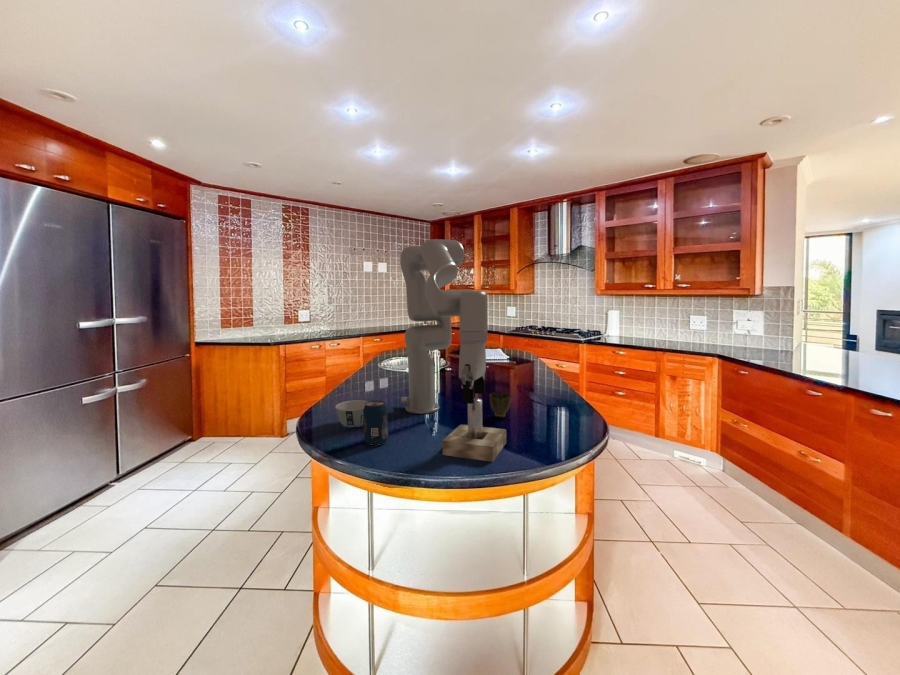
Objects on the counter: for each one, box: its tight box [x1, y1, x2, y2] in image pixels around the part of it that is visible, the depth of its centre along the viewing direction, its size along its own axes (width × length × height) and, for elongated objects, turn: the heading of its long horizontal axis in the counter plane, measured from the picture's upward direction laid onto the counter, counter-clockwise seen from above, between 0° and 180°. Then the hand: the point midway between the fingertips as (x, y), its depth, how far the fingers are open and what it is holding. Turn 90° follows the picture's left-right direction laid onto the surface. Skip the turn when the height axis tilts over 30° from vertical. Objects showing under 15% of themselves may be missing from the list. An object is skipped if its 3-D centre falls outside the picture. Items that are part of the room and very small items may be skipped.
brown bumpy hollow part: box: [488, 392, 511, 419], centre depth 141 cm, size 8×7×8 cm
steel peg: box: [467, 397, 483, 440], centre depth 113 cm, size 4×4×14 cm
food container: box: [334, 399, 369, 425], centre depth 138 cm, size 12×12×6 cm
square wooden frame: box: [441, 424, 507, 463], centre depth 113 cm, size 14×14×4 cm
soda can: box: [363, 400, 389, 445], centre depth 119 cm, size 7×7×12 cm
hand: (473, 398), depth 112 cm, fingers open, 9 cm apart
